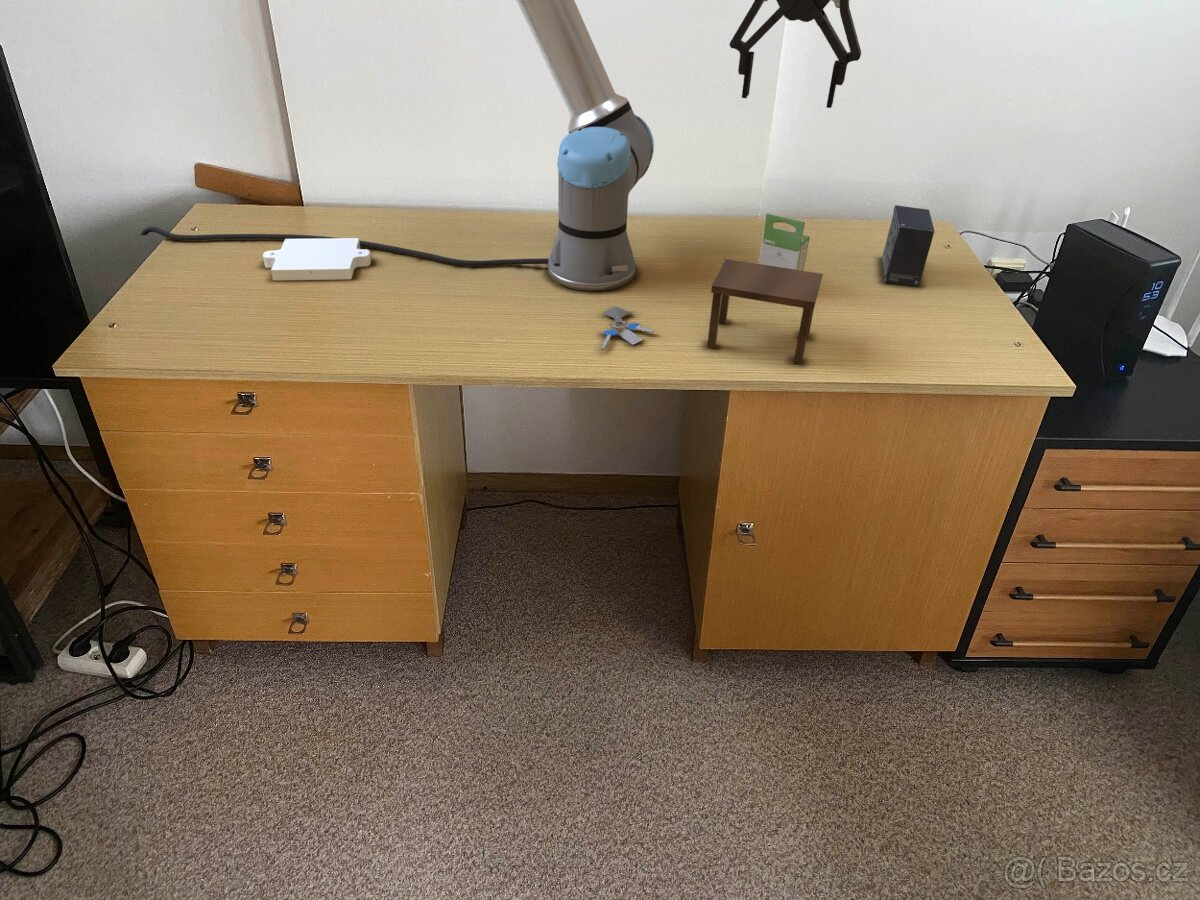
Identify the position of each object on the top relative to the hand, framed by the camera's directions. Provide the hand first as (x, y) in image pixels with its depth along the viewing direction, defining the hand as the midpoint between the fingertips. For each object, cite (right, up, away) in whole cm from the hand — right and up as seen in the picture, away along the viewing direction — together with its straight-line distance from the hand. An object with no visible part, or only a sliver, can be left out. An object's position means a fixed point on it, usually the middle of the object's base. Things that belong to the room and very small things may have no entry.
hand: (786, 101), depth 142 cm
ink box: (0, -29, +10) cm, 30 cm away
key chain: (-26, -38, -4) cm, 46 cm away
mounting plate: (-80, -24, +13) cm, 84 cm away
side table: (-6, -40, -5) cm, 40 cm away
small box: (+24, -25, +16) cm, 38 cm away
